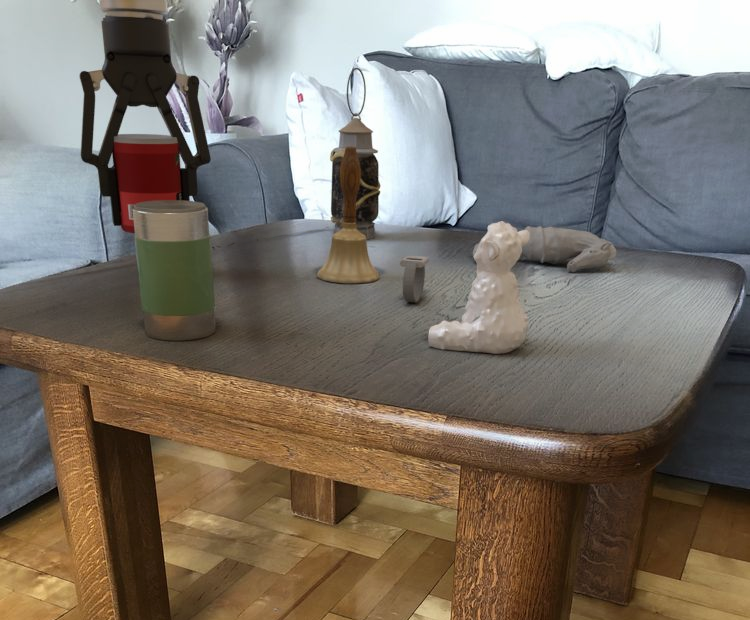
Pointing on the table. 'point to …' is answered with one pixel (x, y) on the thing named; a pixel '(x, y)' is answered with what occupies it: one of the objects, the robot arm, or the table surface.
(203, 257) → the tin can
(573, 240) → the seahorse
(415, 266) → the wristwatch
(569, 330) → the table surface
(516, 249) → the seated beast figurine
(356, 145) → the lantern
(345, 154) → the hand bell
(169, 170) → the canned food
